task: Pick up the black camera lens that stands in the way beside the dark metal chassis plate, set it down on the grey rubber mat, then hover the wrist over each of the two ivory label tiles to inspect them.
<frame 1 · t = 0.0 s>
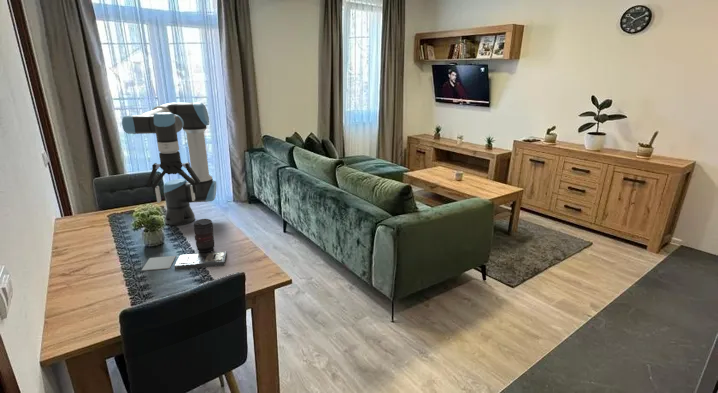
hand: (176, 200, 158), 28 cm above the table, fingers open, 13 cm apart
camera lens: (206, 251, 175), on the table
rubber mat: (159, 263, 163), on the table
psu chassis: (202, 262, 165), on the table
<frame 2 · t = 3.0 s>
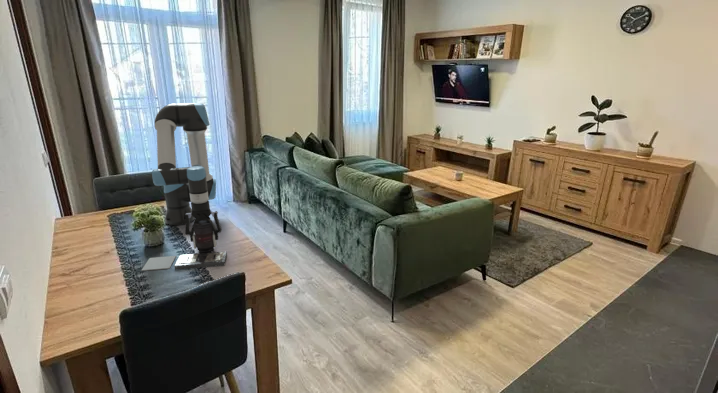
hand: (205, 246, 174), 2 cm above the table, fingers closed on camera lens, 8 cm apart
camera lens: (206, 251, 175), on the table, touching gripper
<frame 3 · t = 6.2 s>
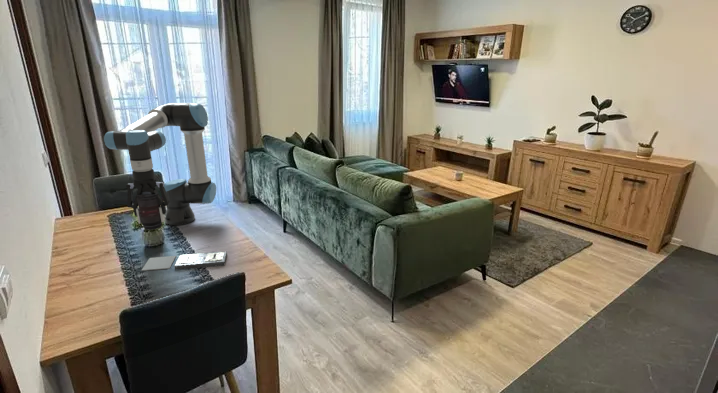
hand: (152, 221, 156), 20 cm above the table, fingers closed on camera lens, 8 cm apart
camera lens: (153, 227, 157), point 17 cm above the table, touching gripper
when the fingers open (4 cm above the table, at t = 9.5 s): camera lens drops 1 cm, resting on rubber mat.
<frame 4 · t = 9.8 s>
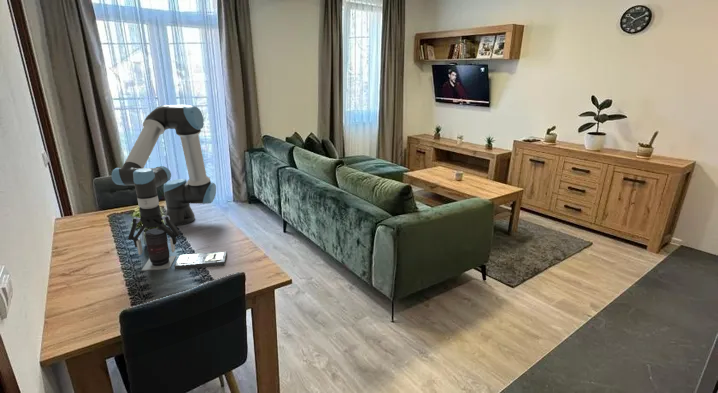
hand: (157, 252, 161), 6 cm above the table, fingers open, 12 cm apart
camera lens: (160, 263, 163), resting on rubber mat
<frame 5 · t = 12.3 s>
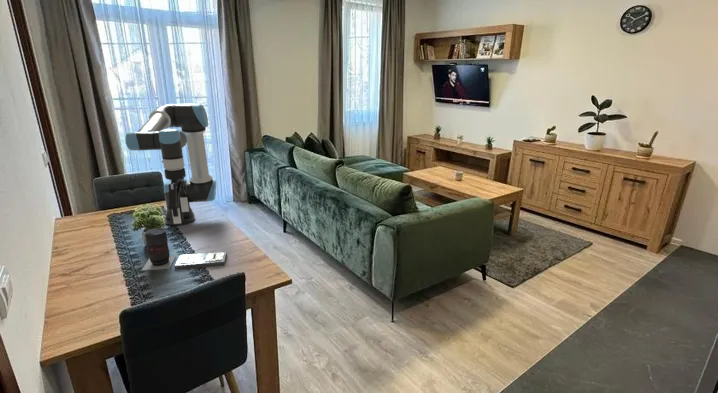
hand: (181, 217, 156), 22 cm above the table, fingers open, 13 cm apart
nothing on the table moved.
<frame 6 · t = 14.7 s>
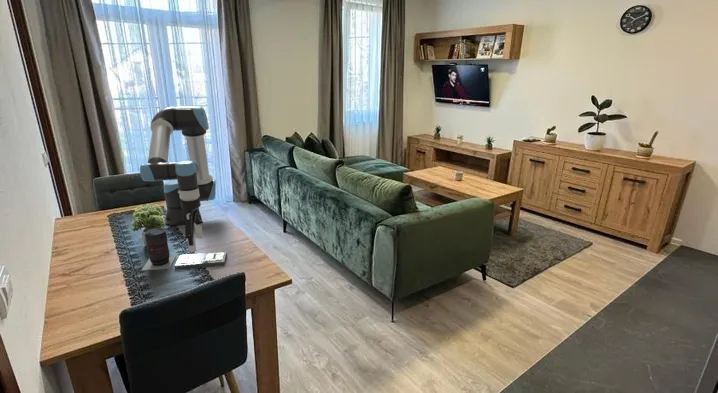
hand: (196, 244, 161), 9 cm above the table, fingers open, 13 cm apart
nothing on the table moved.
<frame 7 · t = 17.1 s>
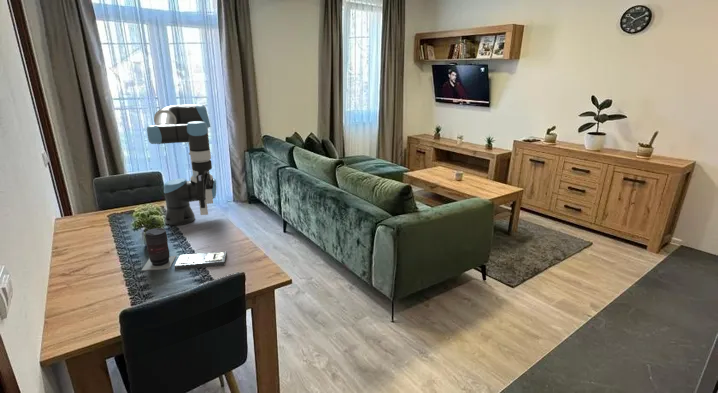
hand: (207, 208, 158), 25 cm above the table, fingers open, 13 cm apart
nothing on the table moved.
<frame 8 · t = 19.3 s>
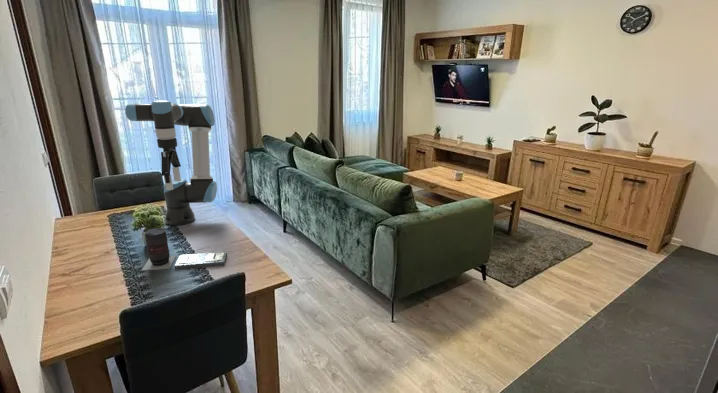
hand: (173, 185, 166), 32 cm above the table, fingers open, 13 cm apart
nothing on the table moved.
at the end: camera lens inside the target area (0.6 cm from its centre), resting on rubber mat; camera lens tilted 0°; the gripper is holding nothing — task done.
